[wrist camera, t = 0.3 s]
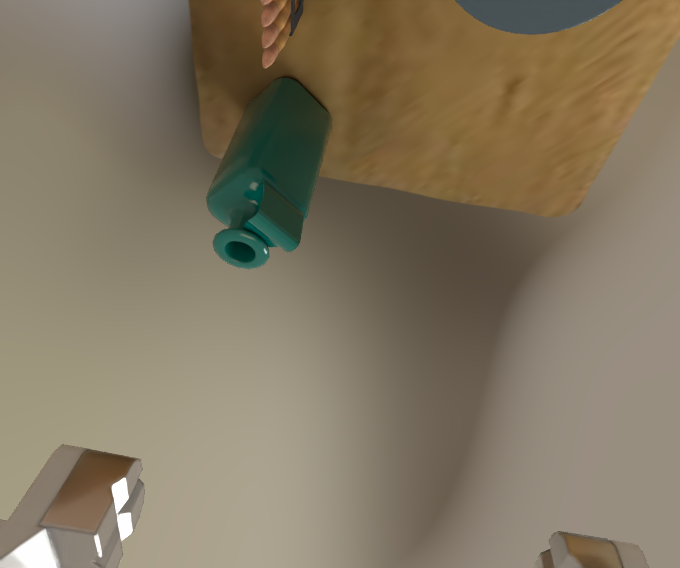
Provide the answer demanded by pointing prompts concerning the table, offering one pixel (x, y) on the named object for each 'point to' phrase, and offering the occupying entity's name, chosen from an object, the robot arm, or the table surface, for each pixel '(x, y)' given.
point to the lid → (535, 13)
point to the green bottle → (269, 174)
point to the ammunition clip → (278, 26)
